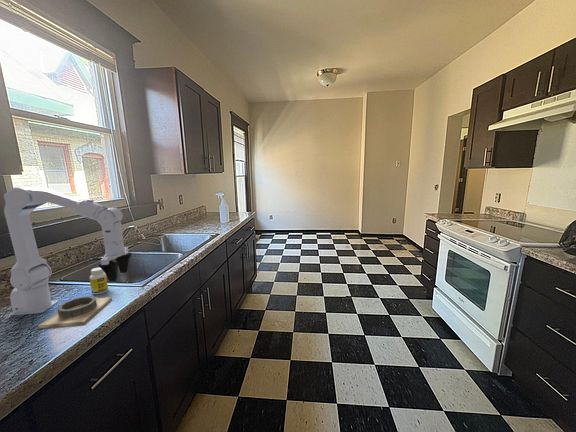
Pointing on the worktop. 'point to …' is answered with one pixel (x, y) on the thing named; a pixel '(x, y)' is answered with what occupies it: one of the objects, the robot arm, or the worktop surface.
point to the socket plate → (76, 319)
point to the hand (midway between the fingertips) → (118, 276)
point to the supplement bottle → (98, 281)
